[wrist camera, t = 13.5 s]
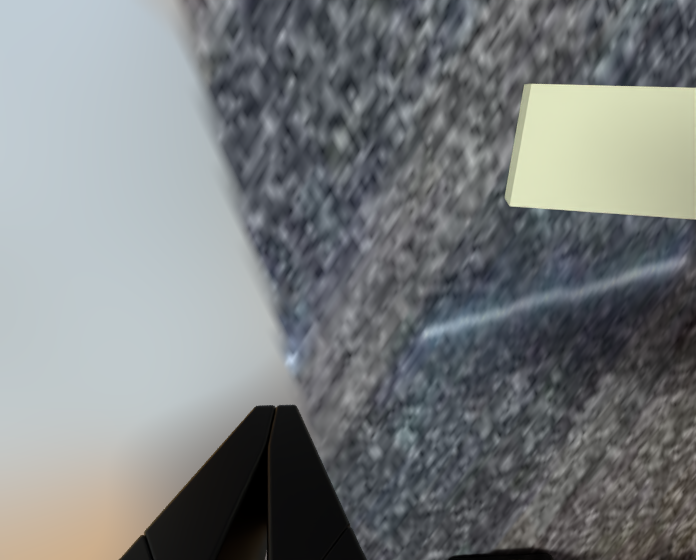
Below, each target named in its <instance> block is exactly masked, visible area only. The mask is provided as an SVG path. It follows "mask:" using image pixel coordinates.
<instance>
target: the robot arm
mask: <svg viewBox="0 0 696 560" xmlns="http://www.w3.org/2000/svg"><path fill="white" fill-rule="evenodd" d="M144 535H145V536H144ZM144 535H141V536H140V537H139V538H138V539H137V540H136V541H135V542H134V544H133V545H132V546H131V547H130V548H129V549H128V550H127V552H126V553H125V554H124V555H123V556H122V557H121V558H120V559H119V560H265V556H266V550H267V560H367V559H366V557H365V555H364V553H363V551H362V549H361V547H360V545H359V543H358V540H357V538H356V536H355V534H354V532H353V529H352V528H351V527H350V523H349V521H348V519H347V517H346V514H345V512H344V510H343V508H342V505H341V503H340V501H339V499H338V497H337V494H336V492H335V490H334V488H333V485H332V483H331V481H330V479H329V477H328V474H327V472H326V470H325V468H324V466H323V463H322V461H321V459H320V457H319V454H318V452H317V450H316V448H315V446H314V443H313V441H312V439H311V437H310V434H309V432H308V430H307V428H306V426H305V423H304V421H303V419H302V417H301V415H300V412H299V410H298V408H297V406H295V405H279V406H277V407H275V406H273V405H269V406H268V405H267V406H256V407H254V409H253V410H252V411H251V412H250V413H249V414H248V415H247V416H246V418H245V419H244V420H243V421H242V422H241V423H240V424H239V426H238V427H237V428H236V429H235V430H234V431H233V432H232V433H231V435H230V436H229V437H228V438H227V439H226V440H225V441H224V442H223V443H222V445H221V446H220V447H219V448H218V449H217V450H216V451H215V452H214V454H213V455H212V456H211V457H210V458H209V459H208V460H207V461H206V463H205V464H204V465H203V466H202V467H201V468H200V469H199V471H198V472H197V473H196V474H195V475H194V476H193V477H192V478H191V480H190V481H189V482H188V483H187V484H186V485H185V486H184V487H183V489H182V490H181V491H180V492H179V493H178V494H177V495H176V497H175V498H174V499H173V500H172V501H171V502H170V503H169V504H168V506H167V507H166V508H165V509H164V510H163V511H162V512H161V513H160V515H159V516H158V517H157V518H156V519H155V520H154V521H153V522H152V524H151V525H150V526H149V527H148V528H147V529H146V530H145V532H144ZM450 560H554V559H553V557H552V556H551V555H550V554H534V555H516V556H497V557H478V558H459V559H450Z"/></svg>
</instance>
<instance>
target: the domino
mask: <svg viewBox="0 0 696 560" xmlns="http://www.w3.org/2000/svg"><path fill="white" fill-rule="evenodd" d="M505 199H506V201H507V203H508V204H509V206H515V207H529V208H543V209H557V210H571V211H585V212H599V213H613V214H627V215H641V216H654V217H668V218H682V219H696V88H676V87H636V86H596V85H557V84H525V85H524V89H523V95H522V101H521V107H520V112H519V118H518V124H517V129H516V135H515V141H514V147H513V152H512V158H511V164H510V170H509V175H508V181H507V187H506V193H505Z"/></svg>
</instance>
